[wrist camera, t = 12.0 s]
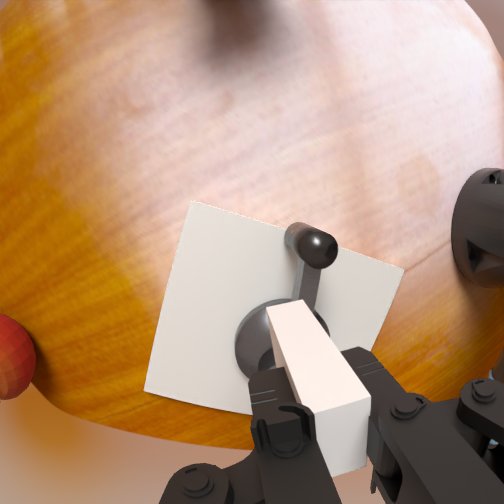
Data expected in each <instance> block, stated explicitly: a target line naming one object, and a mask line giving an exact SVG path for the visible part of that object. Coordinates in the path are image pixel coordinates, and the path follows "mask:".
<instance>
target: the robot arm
mask: <svg viewBox="0 0 504 504" xmlns="http://www.w3.org/2000/svg"><path fill="white" fill-rule="evenodd" d="M452 245H453V252H454V256H455V260H456V263H457V265H458V267H459V269H460V271H461V273H462V274H463V275H464V276H465V277H466V278H467V279H468V280H469V281H471V282H473V283H476V284H478V285H480V286H483V287H487V288H503V287H504V169H499V168H484V169H481V170H478V171H477V172H475V173H474V174H473V175H472V176H470V178H469V179H468V180H467V181H466V183H465V184H464V186H463V188H462V190H461V192H460V194H459V196H458V199H457V202H456V206H455V210H454V215H453V222H452ZM266 312H267V317H268V323H269V329H270V334H271V340H272V346H273V352H274V357H275V363H276V367H277V368H275V369H270V370H265V371H260V372H255V373H253V374H252V376H251V378H250V380H249V382H248V388H249V395H250V401H251V408H252V414H253V419H252V420H251V427H250V429H251V433H252V437H253V440H254V444H255V447H254V450H253V451H252V452H251V453H250V455H249V456H247V457H246V458H245V459H244V460H242V461H240V462H238V463H236V464H234V465H232V466H230V467H227V468H224V469H220V468H219V467H217V466H216V465H211V464H206V463H200V464H192V465H189V466H186V467H183V468H182V469H180V470H179V471H177V472H176V473H174V475H173V476H172V477H171V479H170V480H169V482H168V484H167V486H166V488H165V491H164V493H163V495H162V497H161V500H160V502H159V504H342V503H341V500H340V498H339V495H338V493H337V490H336V487H335V485H334V483H333V480H332V477H334V476H337V475H341V474H344V473H347V472H350V471H353V470H356V469H359V468H362V467H365V466H366V464H367V455H368V457H369V458H370V461H371V462H372V464H373V473H372V480H371V487H370V488H371V493H372V494H373V493H375V491H376V486H377V487H378V489H379V491H380V493H381V495H382V497H383V499H384V501H385V503H386V504H504V348H503V350H502V352H501V354H500V356H499V358H498V360H497V362H496V364H495V365H494V367H493V368H492V369H491V370H490V372H489V377H488V378H479V379H474V380H471V381H470V382H468V383H466V384H465V385H464V387H463V388H462V389H461V393H460V397H459V398H455V399H450V400H445V401H440V402H430V401H429V400H428V399H427V398H425V397H424V396H423V395H419V394H416V393H406V391H405V390H404V389H403V388H402V387H401V386H400V384H399V383H398V382H397V381H396V380H395V379H394V378H393V376H392V375H391V374H390V373H389V372H388V371H387V370H386V369H384V366H383V365H382V364H381V363H380V362H378V359H377V358H376V357H375V356H374V355H373V354H372V352H370V351H368V350H366V349H364V348H362V347H359V346H358V347H354V348H351V349H347V350H344V351H339V350H338V348H337V347H336V346H335V344H334V343H333V341H332V340H331V339H330V337H329V336H328V334H327V333H326V332H325V330H324V329H323V327H322V326H321V325H320V323H319V322H318V320H317V319H316V318H315V316H314V315H313V313H312V312H311V311H310V309H309V308H308V306H307V305H306V304H305V302H304V301H303V299H302V300H298V301H293V302H288V303H284V304H279V305H274V306H269V307H266Z"/></svg>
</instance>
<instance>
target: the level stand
mask: <svg viewBox="0 0 504 504" xmlns="http://www.w3.org/2000/svg"><path fill="white" fill-rule="evenodd" d="M286 230H287V229H285V228H282V227H279V226H276V225H272V224H269V223H266V222H263V221H260V220H257V219H253V218H250V217H247V216H244V215H241V214H237V213H234V212H231V211H228V210H224V209H221V208H218V207H214V206H211V205H208V204H204V203H201V202H198V201H194V200H191V202H190V206H189V209H188V212H187V216H186V219H185V222H184V226H183V229H182V233H181V236H180V240H179V244H178V247H177V251H176V254H175V258H174V262H173V266H172V269H171V273H170V277H169V281H168V285H167V289H166V293H165V297H164V301H163V305H162V309H161V313H160V317H159V322H158V326H157V330H156V335H155V339H154V344H153V348H152V353H151V358H150V362H149V367H148V372H147V377H146V382H145V387H144V391H146V392H150V393H153V394H157V395H161V396H164V397H168V398H172V399H176V400H180V401H184V402H188V403H193V404H197V405H202V406H206V407H211V408H216V409H221V410H226V411H232V412H237V413H243V414H249V415H253V414H252V408H251V401H250V395H249V388H248V382H249V380H250V379H249V378H247V377H246V376H245V375H244V374H243V373H242V371H241V370H240V368H239V366H238V364H237V361H236V356H235V349H234V339H235V334H236V331H237V328H238V326H239V324H240V323H241V321H242V320H243V318H244V317H245V316H246V315H247V314H248V313H249V312H250V311H251V310H253V309H254V308H256V307H257V306H259V305H261V304H263V303H265V302H268V301H271V300H275V299H282V298H287V299H292V293H293V287H294V281H295V275H296V268H297V262H298V256H297V255H296V254H295V253H294V252H293V251H291V250H290V249H289V248H288V247H287V245H286V244H285V240H284V235H285V231H286ZM403 273H404V269H401V268H399V267H397V266H395V265H392V264H389V263H386V262H383V261H380V260H377V259H375V258H372V257H369V256H366V255H363V254H360V253H357V252H354V251H351V250H348V249H345V248H342V247H340V246H338V255H337V258H336V260H335V261H334V262H333V264H332V265H330V266H329V267H327V268H325V269H322V270H321V276H320V281H319V287H318V292H317V298H316V303H315V308H314V309H315V310H316V311H317V312H318V313H319V315H320V316H321V317H322V318H323V320H324V321H325V323H326V324H327V327H328V329H329V333H330V339H331V340H332V341H333V343H334V344H335V346H336V347H337V348H338V350H339V351H344V350H347V349H351V348H354V347H358V346H359V347H362V348H364V349H366V350H368V351H371V348H372V346H373V344H374V342H375V340H376V338H377V336H378V333H379V331H380V329H381V327H382V324H383V322H384V320H385V318H386V315H387V313H388V310H389V308H390V306H391V303H392V301H393V298H394V296H395V293H396V291H397V288H398V286H399V283H400V281H401V278H402V275H403Z"/></svg>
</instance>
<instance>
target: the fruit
mask: <svg viewBox="0 0 504 504" xmlns="http://www.w3.org/2000/svg"><path fill="white" fill-rule="evenodd" d="M35 367H36V354H35V350H34V345H33V342H32V340H31V338H30V336H29V334H28V333H27V332H26V330H25V329H24V328H23V327H22V326H21V325H20V324H19V323H18V322H17V321H15V320H13V319H12V318H10V317H8V316H6V315H2V314H0V399H1V400H6V399H12V398H15V397H17V396H18V395H20V394H21V393H22V392H23V391H24V390H25V389H27V387H28V386H29V384H30V382H31V380H32V378H33V375H34V373H35Z"/></svg>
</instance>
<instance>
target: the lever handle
mask: <svg viewBox="0 0 504 504" xmlns="http://www.w3.org/2000/svg"><path fill="white" fill-rule="evenodd" d="M284 240H285V244H286V245H287V247H288V248H289V249H290V250H291V251H293V252H294V253H295V254H296V255H297V256H298V262H297V268H296V275H295V281H294V287H293V293H292V299H287V298H282V299H275V300H271V301H268V302H265V303H263V304H261V305H259V306H257V307H256V308H254V309H253V310H251V311H250V312H249V313H248V314H247V315H246V316H245V317H244V318H243V320H242V321H241V323H240V324H239V326H238V328H237V331H236V334H235V339H234V349H235V356H236V361H237V364H238V366H239V368H240V370H241V371H242V373H243V374H244V375H245V376H246V377H247V378H249V379H250V378H251V376H252V374H253V373H255V372H260V371H265V370H270V369H275V368H277V367H276V363H275V357H274V352H273V346H272V340H271V334H270V329H269V323H268V317H267V312H266V307H269V306H274V305H279V304H284V303H288V302H293V301H298V300H302V299H303V301H304V302H305V304H306V305H307V306H308V308H309V309H310V311H311V312H312V313H313V315H314V316H315V318H316V319H317V320H318V322H319V323H320V325H321V326H322V327H323V329H324V330H325V332H326V333H327V334H328V336H329V337H330V333H329V329H328V327H327V324H326V323H325V321H324V320H323V318H322V317H321V316H320V315H319V313H318V312H317V311H316V310H315V309H314V308H315V303H316V298H317V292H318V287H319V281H320V276H321V270H322V269H325V268H327V267H329V266H330V265H332V264H333V262H334V261H335V260H336V258H337V255H338V244H337V242H336V240H335V239H334V237H333V236H331V235H330V234H328V233H326V232H323V231H321V230H319V229H316V228H314V227H312V226H310V225H307V224H305V223H302V222H297V223H293V224H291V225H290V226H289V227H288V228H287V230H286V231H285V235H284Z"/></svg>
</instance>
